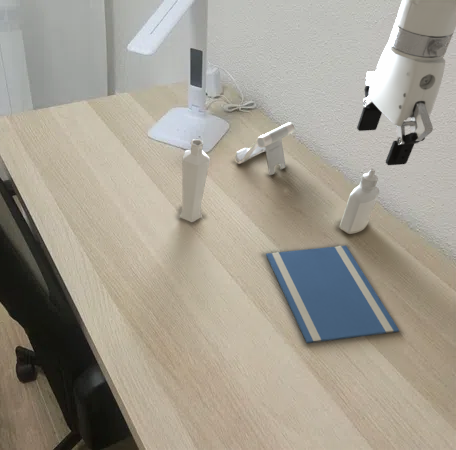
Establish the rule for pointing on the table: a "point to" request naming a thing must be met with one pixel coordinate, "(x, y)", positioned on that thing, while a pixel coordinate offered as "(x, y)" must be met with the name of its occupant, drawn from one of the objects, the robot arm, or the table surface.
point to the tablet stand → (268, 147)
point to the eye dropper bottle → (360, 204)
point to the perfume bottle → (193, 180)
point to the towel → (330, 294)
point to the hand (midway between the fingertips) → (380, 146)
